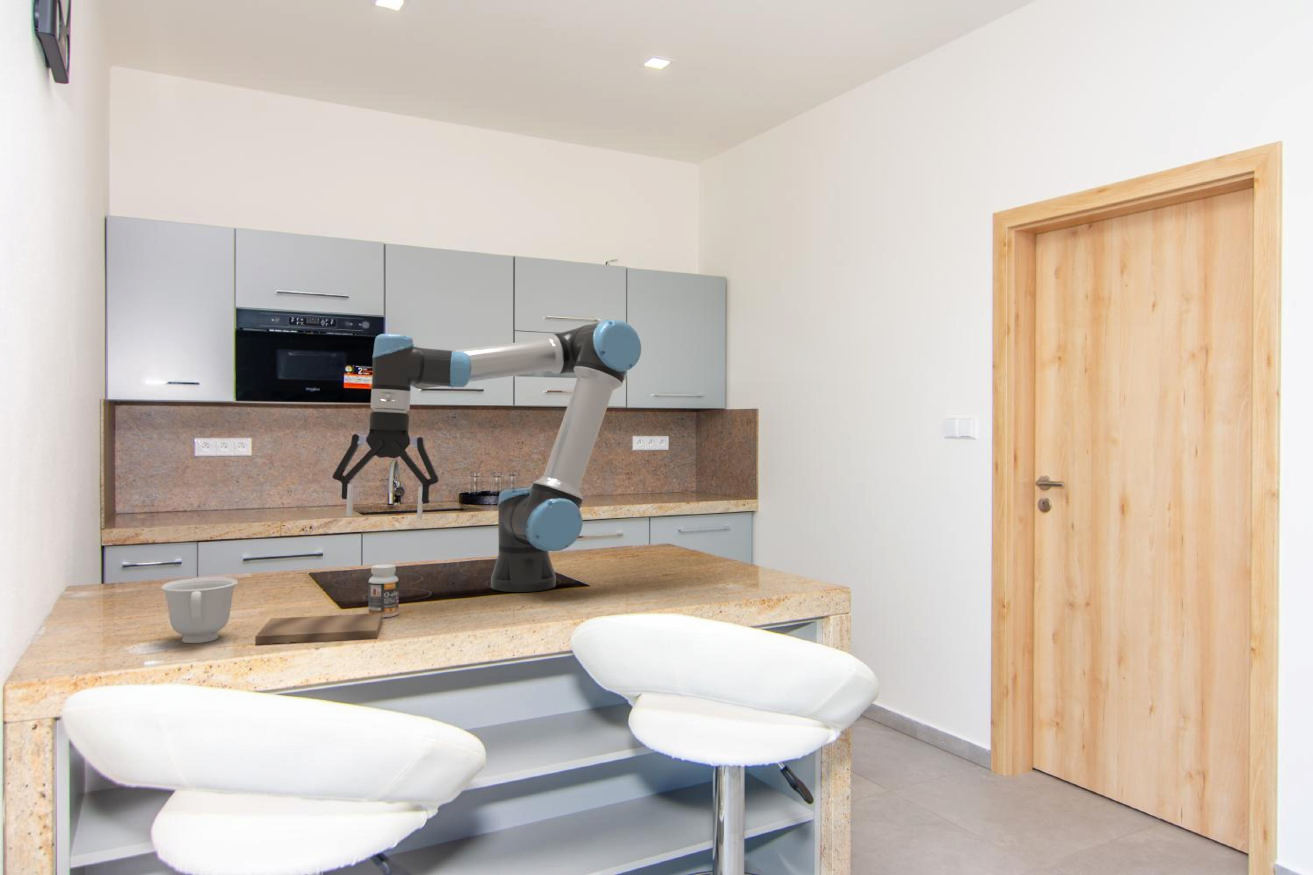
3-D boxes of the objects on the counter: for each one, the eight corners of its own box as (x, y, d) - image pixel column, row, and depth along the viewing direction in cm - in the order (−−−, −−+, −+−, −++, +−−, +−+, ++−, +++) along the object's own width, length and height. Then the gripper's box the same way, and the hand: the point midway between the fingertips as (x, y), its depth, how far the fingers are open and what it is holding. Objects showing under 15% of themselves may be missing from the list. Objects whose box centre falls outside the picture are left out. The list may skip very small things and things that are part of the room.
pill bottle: (389, 619, 168) (389, 568, 168) (362, 617, 170) (362, 567, 169) (403, 612, 174) (403, 564, 174) (377, 611, 175) (377, 563, 175)
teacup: (154, 655, 142) (154, 595, 141) (165, 634, 155) (165, 579, 155) (235, 648, 146) (235, 589, 146) (239, 628, 160) (239, 575, 160)
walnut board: (381, 620, 167) (381, 613, 167) (376, 638, 153) (376, 630, 153) (270, 626, 162) (270, 618, 162) (255, 645, 148) (255, 636, 148)
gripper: (320, 407, 167) (315, 516, 167) (452, 414, 171) (446, 520, 171) (328, 408, 174) (323, 513, 174) (454, 415, 179) (449, 517, 178)
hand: (384, 517), depth 173 cm, fingers open, 13 cm apart
